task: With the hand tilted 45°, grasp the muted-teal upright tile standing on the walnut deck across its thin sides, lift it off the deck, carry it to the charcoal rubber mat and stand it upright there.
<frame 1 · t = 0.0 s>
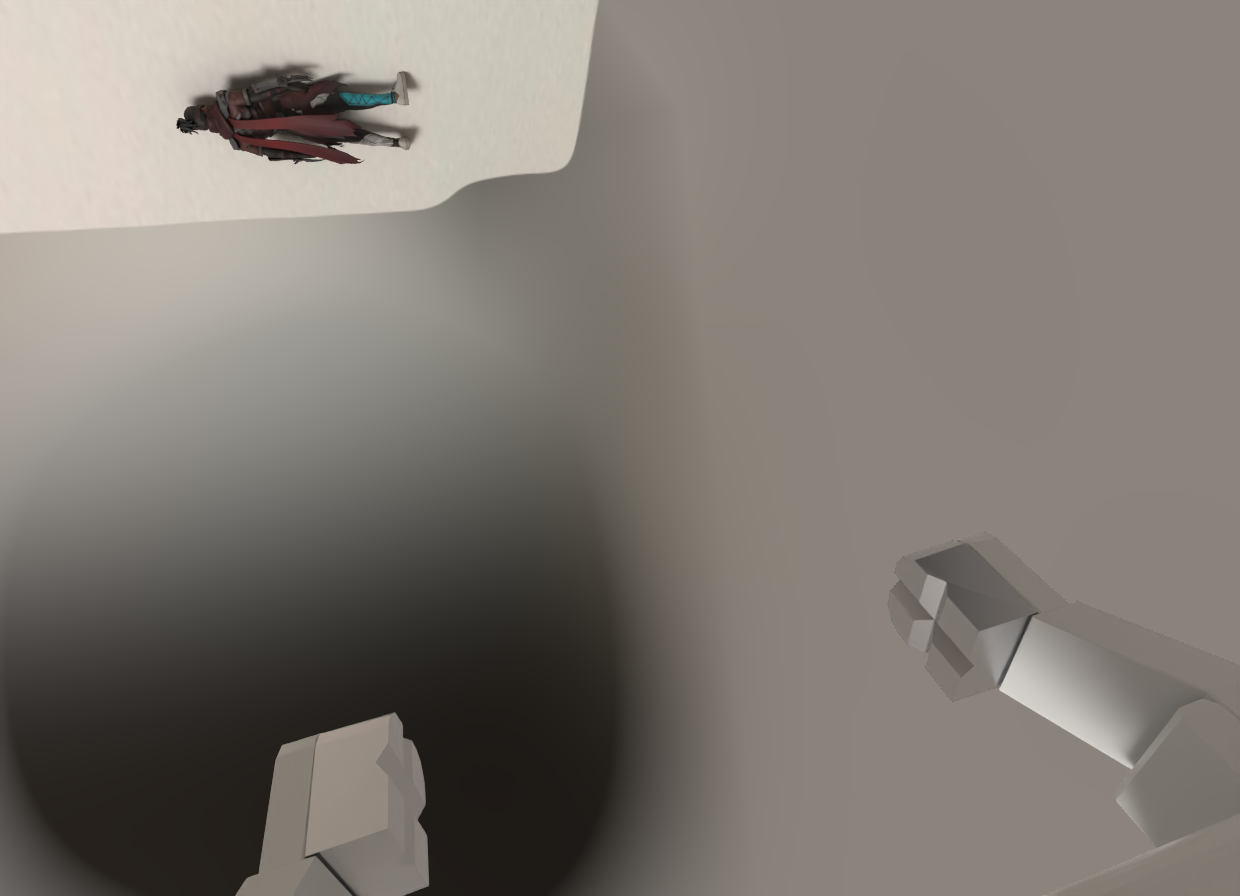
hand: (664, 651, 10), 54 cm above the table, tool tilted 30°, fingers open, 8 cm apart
action figure: (296, 102, 56), on the table
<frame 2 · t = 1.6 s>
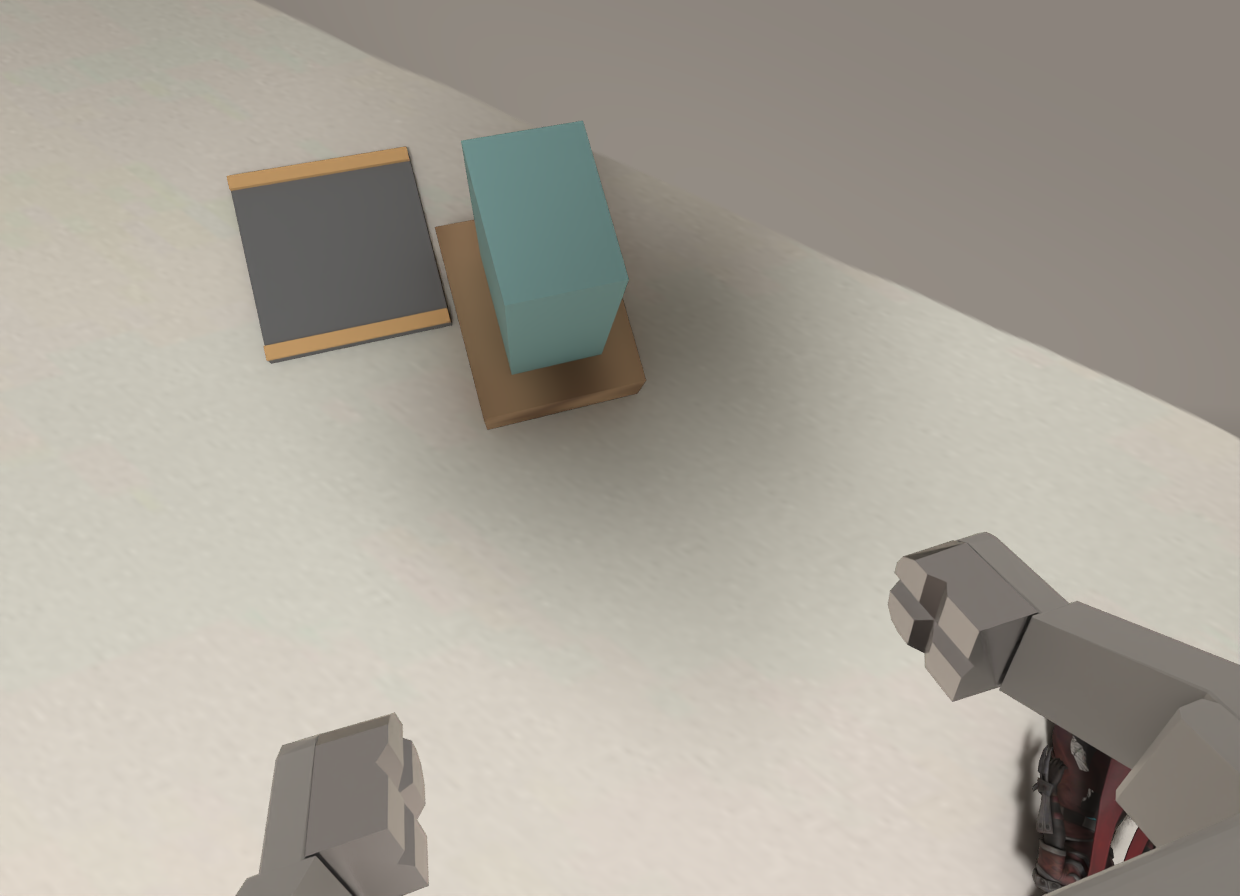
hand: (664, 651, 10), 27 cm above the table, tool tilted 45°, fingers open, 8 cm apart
deck: (540, 322, 38), on the table
mat: (342, 254, 37), on the table
tile: (540, 304, 36), point 3 cm above the table, touching deck
action figure: (1066, 786, 39), on the table
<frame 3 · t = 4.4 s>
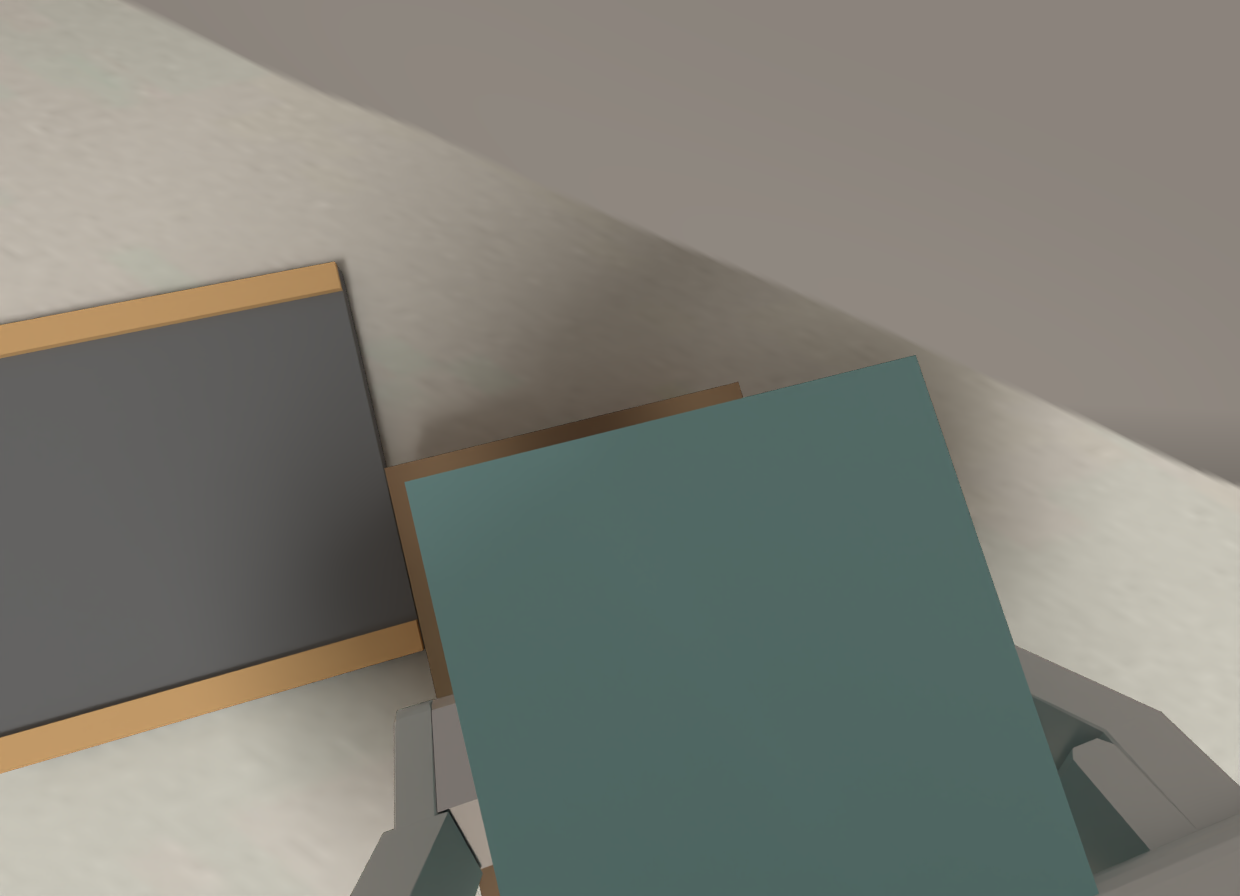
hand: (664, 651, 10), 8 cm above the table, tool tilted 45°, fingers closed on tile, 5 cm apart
deck: (613, 630, 18), on the table
mat: (194, 497, 17), on the table
tile: (628, 644, 15), point 3 cm above the table, touching deck, gripper
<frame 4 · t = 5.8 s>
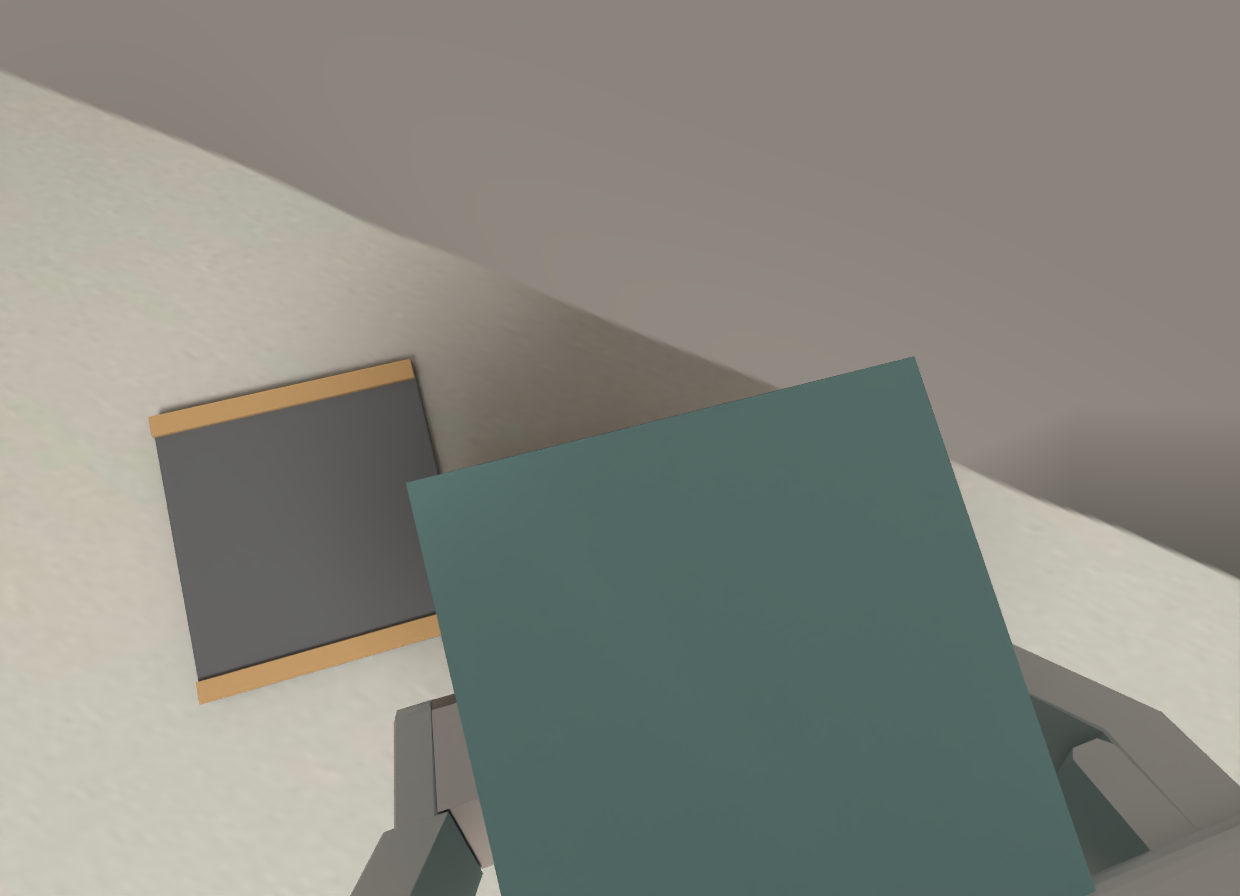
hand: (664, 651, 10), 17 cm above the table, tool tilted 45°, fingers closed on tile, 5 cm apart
mat: (317, 522, 26), on the table
tile: (628, 644, 15), point 11 cm above the table, touching gripper
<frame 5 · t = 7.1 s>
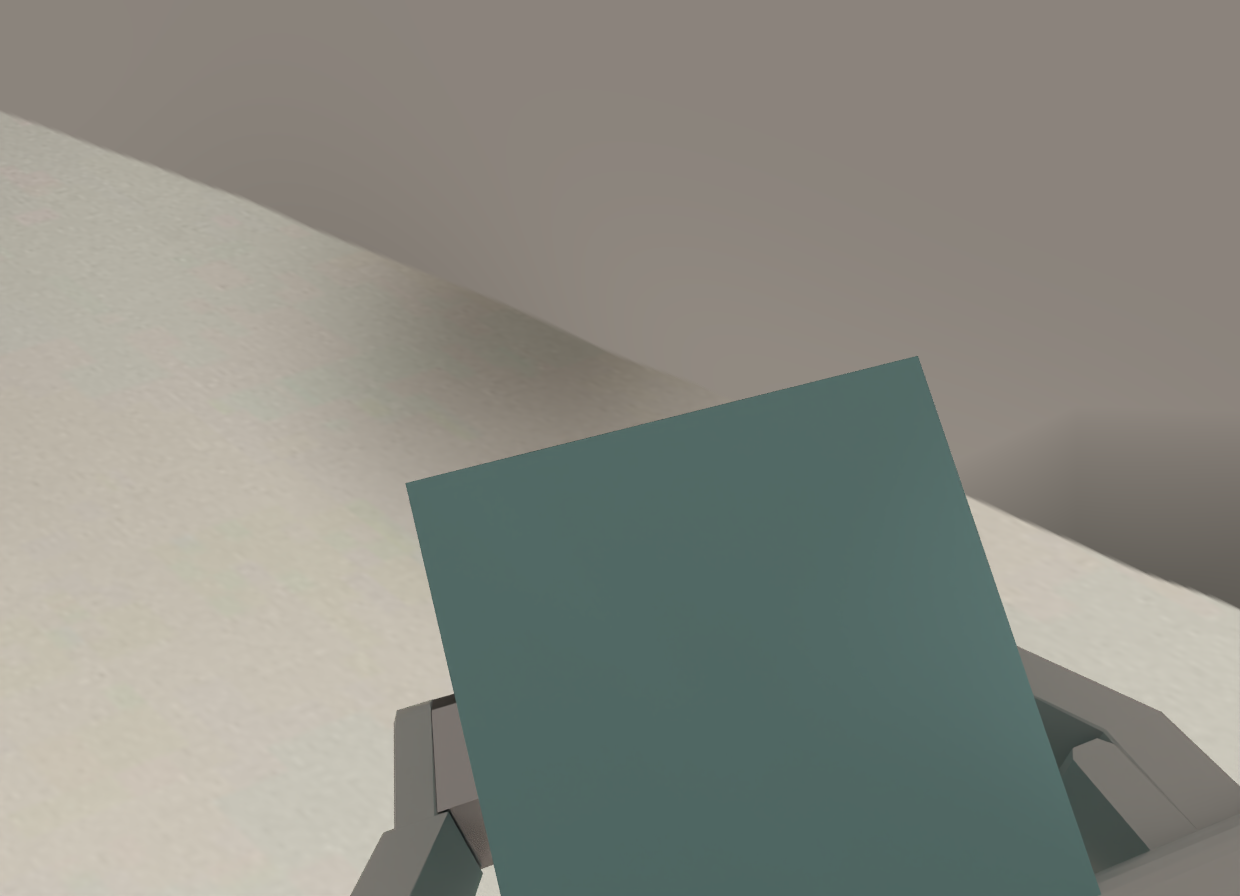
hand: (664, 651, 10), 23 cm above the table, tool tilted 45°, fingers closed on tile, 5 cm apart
tile: (628, 644, 15), point 17 cm above the table, touching gripper
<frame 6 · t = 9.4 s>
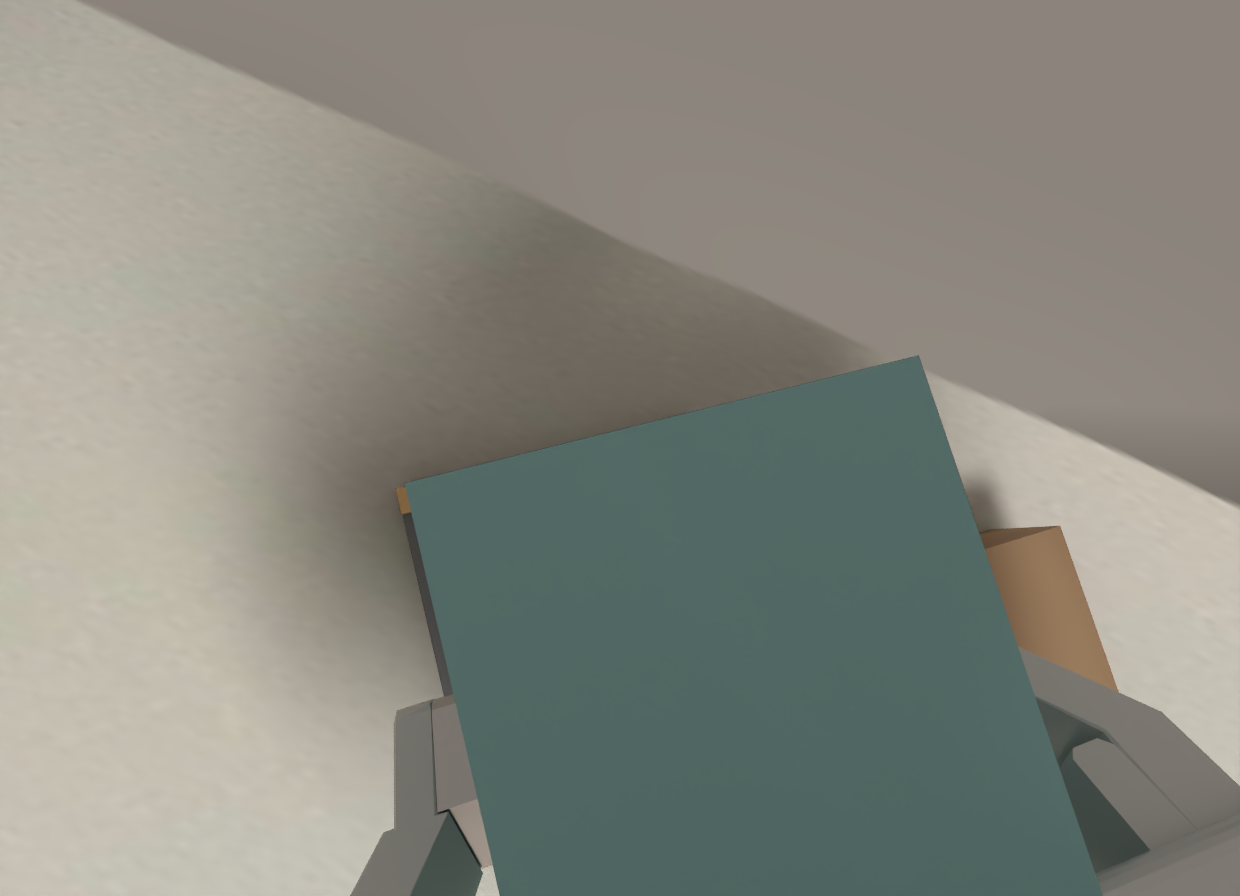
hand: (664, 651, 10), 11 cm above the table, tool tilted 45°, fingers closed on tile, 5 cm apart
deck: (932, 723, 22), on the table
mat: (595, 617, 21), on the table
tile: (628, 645, 15), point 6 cm above the table, touching gripper
when the fingers open (7 cm above the table, at t = 10.8 s): tile stays where it is, resting on mat.
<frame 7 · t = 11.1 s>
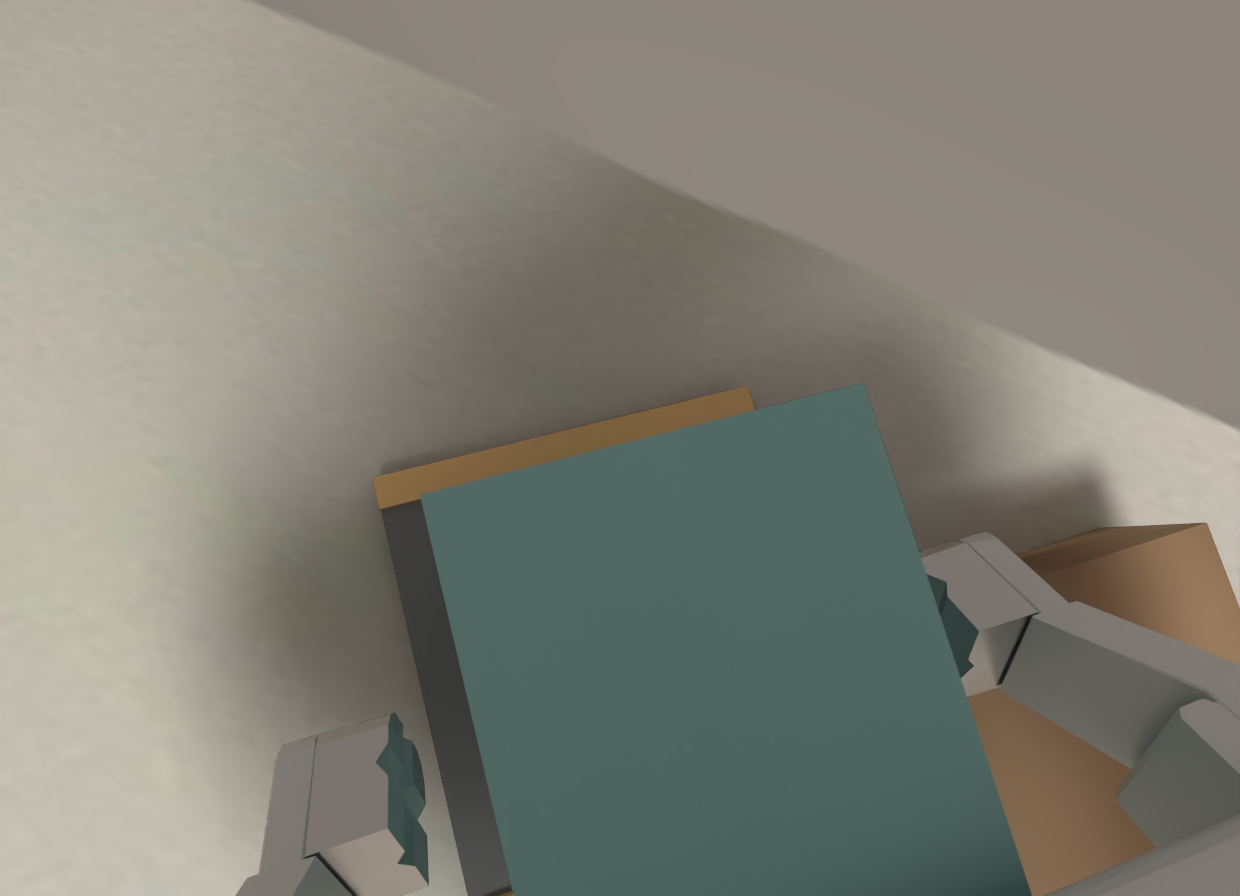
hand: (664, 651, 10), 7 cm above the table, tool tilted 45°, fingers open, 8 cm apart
deck: (1036, 768, 18), on the table
mat: (621, 637, 17), on the table
tile: (621, 640, 16), resting on mat
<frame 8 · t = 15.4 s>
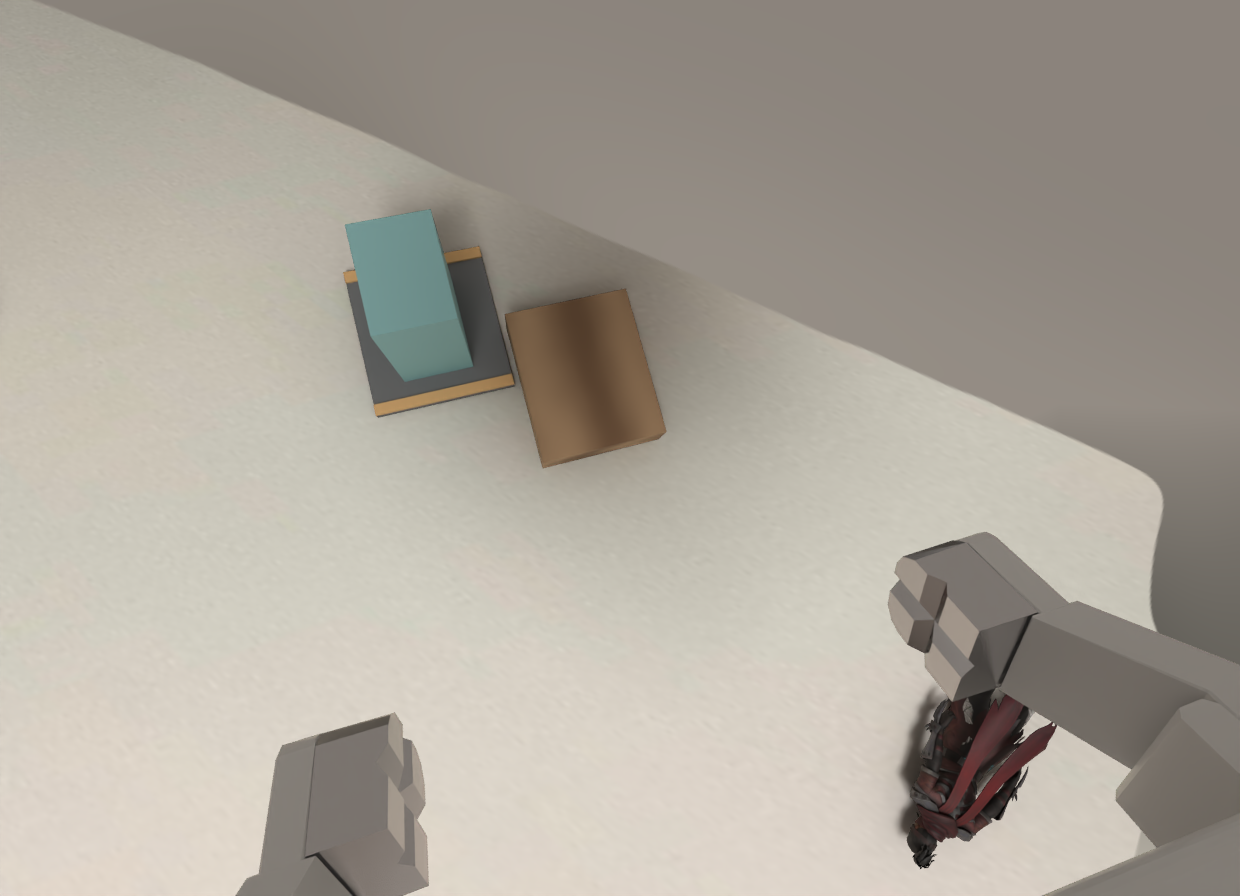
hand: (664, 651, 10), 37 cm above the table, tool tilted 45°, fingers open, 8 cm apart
deck: (582, 383, 49), on the table
mat: (430, 331, 48), on the table
tile: (428, 329, 48), resting on mat
action figure: (956, 742, 49), on the table
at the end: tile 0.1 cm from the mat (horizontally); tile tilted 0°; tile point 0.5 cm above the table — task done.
